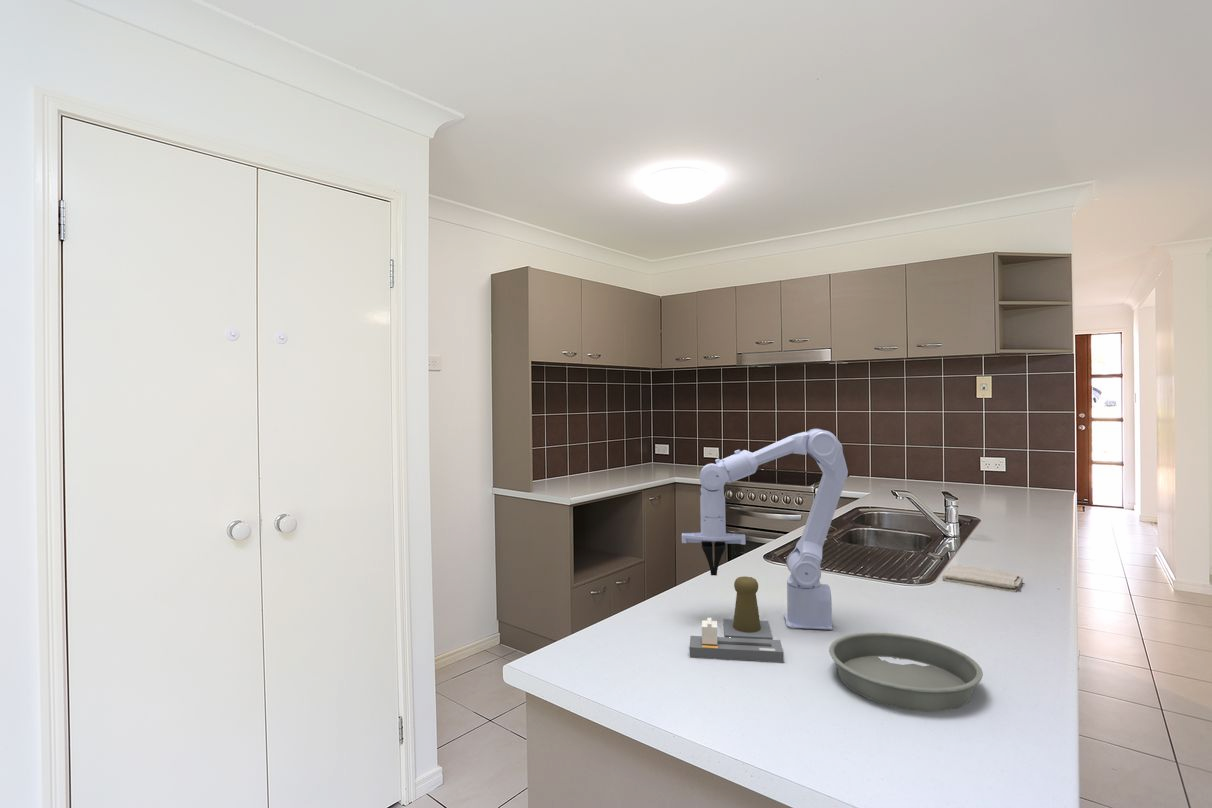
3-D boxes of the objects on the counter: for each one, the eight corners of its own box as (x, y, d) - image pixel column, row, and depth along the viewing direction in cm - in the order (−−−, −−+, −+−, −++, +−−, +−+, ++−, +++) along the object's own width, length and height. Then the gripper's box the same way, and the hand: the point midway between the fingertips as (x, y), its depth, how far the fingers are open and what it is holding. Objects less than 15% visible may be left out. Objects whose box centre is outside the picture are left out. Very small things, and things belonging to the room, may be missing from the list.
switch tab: (717, 637, 124) (716, 618, 124) (717, 644, 121) (717, 624, 121) (702, 636, 125) (702, 617, 125) (702, 643, 121) (701, 623, 121)
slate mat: (768, 622, 138) (768, 620, 138) (772, 640, 128) (772, 637, 128) (723, 620, 140) (723, 618, 140) (724, 637, 130) (724, 635, 130)
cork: (761, 633, 131) (760, 582, 131) (732, 631, 132) (731, 581, 132) (760, 623, 137) (759, 574, 137) (733, 621, 138) (732, 573, 138)
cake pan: (1019, 703, 101) (1018, 676, 101) (897, 728, 94) (896, 699, 94) (906, 647, 124) (906, 625, 124) (802, 663, 117) (801, 640, 117)
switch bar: (780, 649, 123) (780, 639, 123) (783, 662, 117) (783, 651, 117) (690, 645, 126) (690, 635, 126) (689, 657, 120) (689, 646, 120)
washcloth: (1019, 595, 156) (1018, 583, 156) (940, 582, 168) (940, 571, 168) (1024, 584, 166) (1023, 572, 166) (949, 573, 177) (949, 562, 177)
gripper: (743, 513, 144) (744, 570, 144) (682, 512, 146) (683, 568, 146) (745, 518, 137) (746, 579, 137) (680, 517, 139) (681, 576, 139)
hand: (713, 574), depth 141 cm, fingers closed
